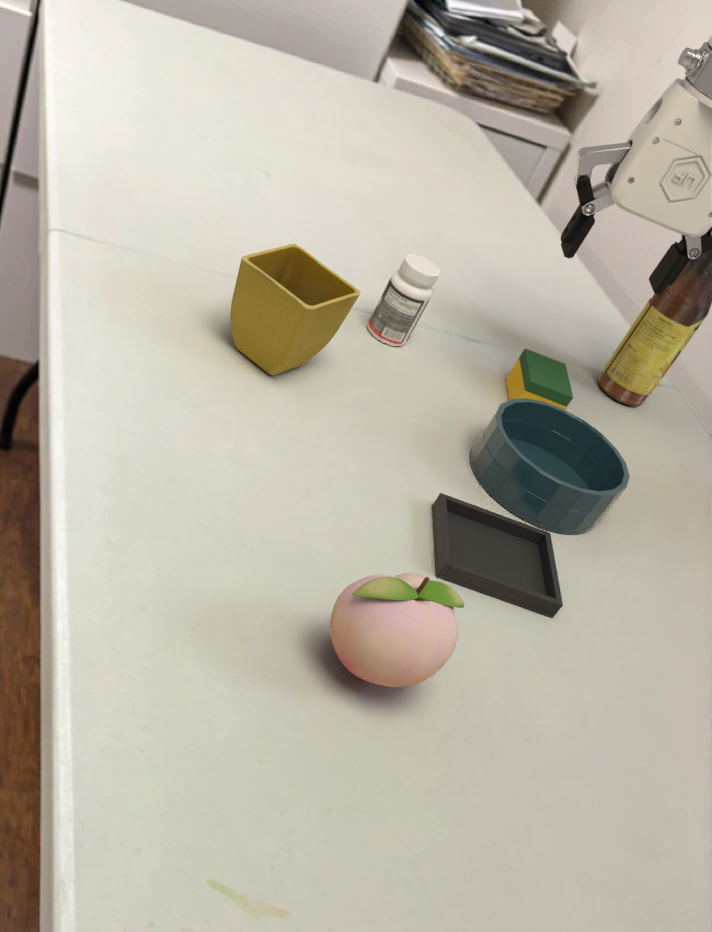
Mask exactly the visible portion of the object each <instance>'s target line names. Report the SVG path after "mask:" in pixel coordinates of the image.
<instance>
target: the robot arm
mask: <svg viewBox="0 0 712 932" xmlns="http://www.w3.org/2000/svg"><path fill="white" fill-rule="evenodd" d="M677 64H678V65H679V66H681V67H683V69H684V71H685V72H684V74H685V76H684V78H683V79H682V78H679V77H677V78H675V79H674V81H673V82H672V83H671V84H670V85H669V86H668V87H667V88H666V89H665V90H664V91H663V92H662V94H661V95H660V96H659V98H657V100H656V101H655V102H654V103H653V104H652V106H651V107H650V109H649V110H648V111H646V113H645V114H644V116H643V117H642V119H641V120H640V121H639V122H638V124H637V125H636V126H635V128H634V130H633V131H632V132H631V133H630V135H629V137H628V138H627V139H626V141H625V142H620V143H609V144H602V145H593V146H583V147H581V148H580V149H579V150H578V151H577V154H576V164H575V175H574V184H575V189H576V194H577V198H578V203H579V205H578V206H577V208H576V209H575V211H574V213H573V214H572V216H571V218H570V219H569V220H568V222H567V224H566V226H565V227H564V229H563V231H562V232H561V234H560V242H561V243H560V247H561V250H562V254H563V257H564V258H567V259H568V260H569V259H573V258H574V257H575V256H576V254H577V252H578V251H579V248H580V247H581V245H582V244H583V243H584V240H585V239H586V238H587V236H588V234H589V233H590V232H591V230H592V228H593V226H594V225H595V222H596V219H595V216H596V214H597V213H599V212H602V210H605V209H607V208H609V207H611V206H613V205H616V207H618V208H619V209H620V210H623V211H625V212H627V213H629V214H632V215H634V216H636V217H639V218H640V219H644V220H645V221H647V222H649V223H653V224H655V225H657V226H660V227H663V228H665V229H667V230H669V231H672V232H674V233H677V234H679V235H680V240H679V242H678V241H674V243H672V244H671V245H670V247H668V249H667V250H666V252H665V253H664V255H663V257H662V258H661V260H660V261H659V262H658V264H657V265H656V267H655V268H654V270H653V271H652V273H651V274H650V275H649V278H648V281H649V284H650V286H651V289H652V292H653V293H654V294H657V295H661V294H662V293H663V292H664V290H665V289H666V287H667V286H671V285H672V284H673V283H674V282H675V280H676V279H677V277H678V276H679V275H680V273H681V272H682V270H683V269H684V268H685V266H686V265H687V263H688V262H689V261H690V259H696V258H698V257H699V256H700V254H701V253H704V252H707V251H709V250H712V228H711V227H712V34H711V35H710V37H709V38H708V40H707V42H706V41H704V42H703V43H702V45H701V46H700V48H699V49H698V48H694V49H693V48H691V47H687V46H686V47H685V48H684V49H683V51H682V52H681V53H680V55H679V57H678V59H677ZM601 165H609V167H608V169H607V171H606V173H605V176H604V180H603V181H601V182H599V183H597V184H595V185H593V186H592V182H591V179H592V174H593V173H592V172H593V169H594V168H595V167H597V166H601ZM710 228H711V229H710Z"/></svg>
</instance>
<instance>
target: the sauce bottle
mask: <svg viewBox="0 0 712 932" xmlns="http://www.w3.org/2000/svg"><path fill="white" fill-rule="evenodd" d="M711 228H712V227H711ZM711 228H710V229H711ZM711 307H712V250H709V251H707V252H704V253H701V254H700V256H699V257H698V258H696V259H690V261H689V262H688V263H687V265H686V266H685V268H684V269H683V270H682V272H681V273H680V275H679V276H678V277H677V279H676V280H675V282H674V283H673V284H672V285H671V286H667V287H666V289H665V290H664V292H663V293H662V294H661V295H657V294H655V293H654V294H653V296H652V297H651V298H649V299H648V300H647V302H646V303H645V305H644V307H643V308H642V310H641V311H640V313H639V314H638V316H637V317H636V318H635V320H634V322H633V323H632V324H631V326H630V328H629V329H628V331H627V332H626V334H625V335H624V337H623V338H622V340H621V341H620V343H619V344H618V345H617V347H616V349H615V350H614V352H613V353H612V355H611V356H610V358H609V359H608V360H607V362H606V364H605V365H604V366H603V370H602V371H601V372H600V375H599V377H598V384H599V387H600V388H601V389H602V391H604V393H606V395H608V396H609V397H610V398H612V399H614V400H615V401H617V402H619V403H621V404H623V405H628V406H631V407H638V406H640V405H642V404H643V403H644V402H645V401H646V400H647V398H648V397H649V396H651V394H653V392H654V391H655V389H656V388H657V387H658V385H659V384H660V382H661V381H662V379H664V377H665V375H666V374H667V372H668V371H669V370H670V369H671V367H672V365H673V364H674V363H675V362H676V360H677V359H678V358H679V356H680V354H681V353H682V352H683V350H684V349H685V348H686V346H687V345H688V344H689V342H690V341H691V339H692V338H693V336H694V335H695V334H696V332H697V331H698V329H699V328H700V326H702V323H703V322H704V321H705V319H707V317H708V316H709V313H710V310H711Z"/></svg>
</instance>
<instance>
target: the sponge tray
mask: <svg viewBox="0 0 712 932" xmlns="http://www.w3.org/2000/svg"><path fill="white" fill-rule="evenodd" d="M431 510H432V512H431V513H432V528H433V529H432V530H433V546H434V547H433V548H434V566H435V577H436V578H439V579H442V580H445V581H448V582H450V583H453V584H456V585H458V586H461V587H464V588H466V589H470V590H473V591H475V592H479V593H481V594H483V595H487V596H489V597H492V598H495V599H498V600H501V601H504V602H507V603H509V604H512V605H515V606H518V607H520V608H523V609H525V610H529V611H532V612H535V613H538V614H540V615H543V616H546V617H548V618H551V619H553V618H554V617H555V616H556V615H557V614H558V612H559V611H561V608H562V607H563V606H564V604H563V603H564V602H563V597H562V591H561V585H560V580H559V575H558V569H557V563H556V558H555V551H554V546H553V541H552V540H553V539H552V535H551V532H550V531H547V530H544V529H541V528H539V527H536V526H533V525H531V524H530V525H529V524H526V523H524V522H521V521H519V520H516V519H513V518H510V517H508V516H505V515H503V514H499V513H497V512H494V511H491V510H488V509H486V508H483V507H481V506H477V505H475V504H472V503H469V502H467V501H464V500H461V499H458V498H456V497H454V496H451V495H449V494H445V493H443V492H440V493H439V494H438V496H437V497H436V499H435V501H434V502H432V505H431Z"/></svg>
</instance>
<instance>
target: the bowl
mask: <svg viewBox="0 0 712 932" xmlns="http://www.w3.org/2000/svg"><path fill="white" fill-rule="evenodd" d="M469 463H470V467H471V470H472V472H473V474H474V477H475V478H476V480H477V481H478V483H479V485H480V486H481V487H482V488H483V489H484V491H485V492H486V493H487V494H488V495H489V496H490V497H491V498H492V499H493V500H494V501H495V502H497V503H498V504H499V506H501V507H503V508H504V509H505V510H507V511H508V512H510V513H511V514H513V515H514V516H515V517H516V518H519V519H521V520H522V521H524V522H526V523H528V524H530V525H531V526H534V527H536V528H538V529H541V530H544V531H547V532H550V533H551V532H553V533H556V534H560V535H574V536H575V535H581V534H584V533H587V532H589V531H591V530H593V529H594V528H595V527H596V526H597V524H599V523H600V522H601V520H602V519H603V518H604V517H605V515H607V513H608V512H609V511H610V509H611V508H612V507H613V505H614V504H615V503H616V502H617V501H618V500H619V498H620V497H621V495H622V494H623V493H624V491H625V490H626V489H627V488H628V484H629V481H630V473H629V469H628V465H627V462H626V461H625V459H624V457H623V456H622V454H621V453H620V452H619V449H617V447H616V446H615V445H614V444H613V443H612V442H611V441H609V439H608V438H607V437H606V436H605V435H604V434H603V433H602V432H601V431H599V430H598V429H596V427H594V426H592V425H591V424H590V423H588V421H586V420H584V419H582V418H580V417H579V416H577V415H575V414H573V413H571V412H569V411H568V410H566V409H565V410H564V409H562V408H559V407H556V406H554V405H551V404H549V403H546V402H543V401H538V400H533V399H528V398H521V399H510V400H509V399H508V400H506V401H504V402H501V403H500V404H499V406H498V407H497V409H496V410H495V412H494V413H493V415H492V417H491V418H490V420H489V421H488V423H487V424H486V426H485V428H484V429H483V431H482V432H481V434H480V435H479V437H478V438H477V440H476V442H475V444H474V445H473V447H472V449H471V451H470V455H469Z"/></svg>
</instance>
